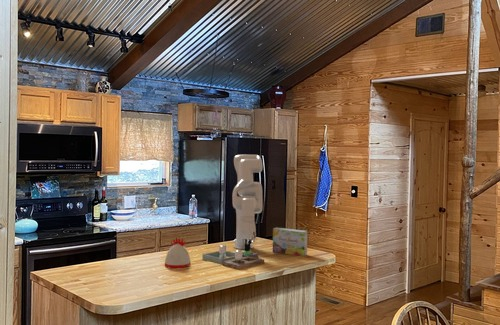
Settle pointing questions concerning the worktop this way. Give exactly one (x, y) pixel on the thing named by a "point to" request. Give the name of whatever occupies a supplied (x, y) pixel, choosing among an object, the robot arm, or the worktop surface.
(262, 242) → the worktop surface
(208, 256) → the tote
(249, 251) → the button
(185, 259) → the kitchen timer
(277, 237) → the snack box
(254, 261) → the board
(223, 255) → the billet
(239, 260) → the cylinder
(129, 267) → the worktop surface
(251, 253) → the button console
